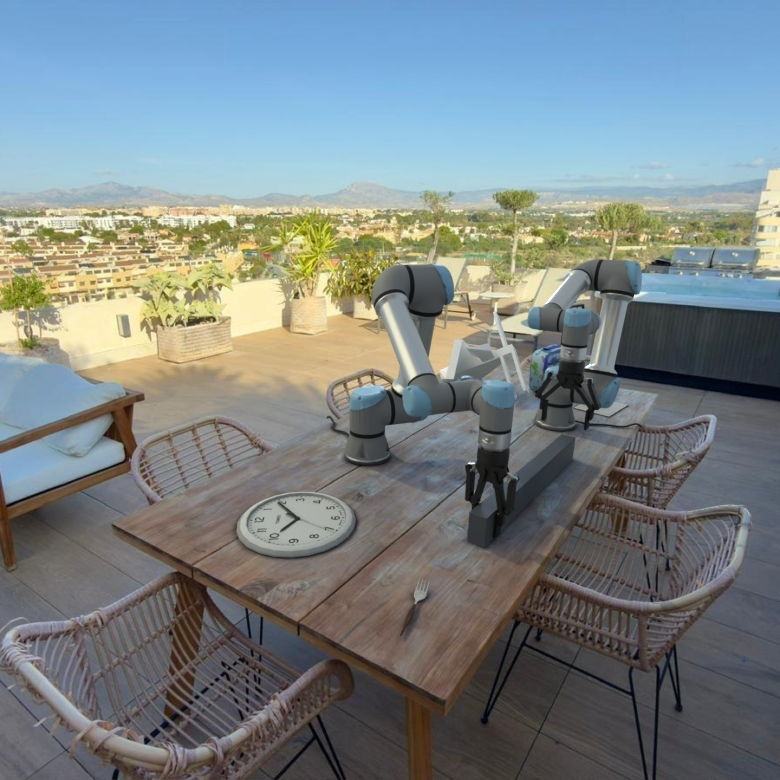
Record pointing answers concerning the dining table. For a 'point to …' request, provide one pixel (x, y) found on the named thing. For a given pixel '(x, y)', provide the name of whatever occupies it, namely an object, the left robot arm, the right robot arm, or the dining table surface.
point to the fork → (418, 596)
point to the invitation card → (605, 409)
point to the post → (521, 488)
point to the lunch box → (543, 364)
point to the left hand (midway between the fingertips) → (486, 531)
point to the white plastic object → (482, 360)
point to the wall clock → (296, 524)
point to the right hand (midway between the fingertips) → (564, 424)
